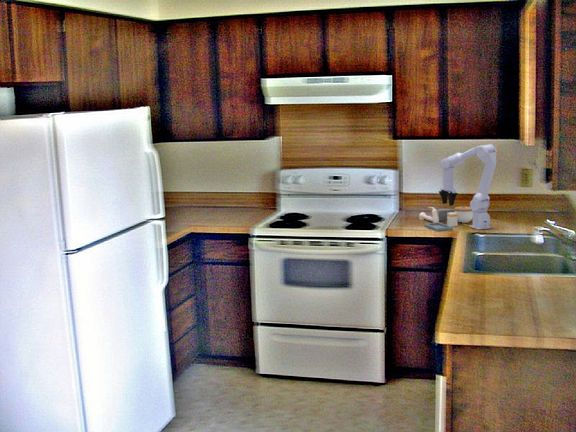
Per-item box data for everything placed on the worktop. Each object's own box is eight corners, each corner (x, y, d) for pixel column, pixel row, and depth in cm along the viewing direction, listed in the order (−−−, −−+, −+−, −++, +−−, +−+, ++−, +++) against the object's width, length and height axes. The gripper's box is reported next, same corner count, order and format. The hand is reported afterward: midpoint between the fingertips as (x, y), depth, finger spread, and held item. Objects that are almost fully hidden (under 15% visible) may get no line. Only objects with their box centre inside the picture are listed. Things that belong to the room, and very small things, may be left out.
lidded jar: (450, 221, 419) (450, 204, 417) (466, 219, 423) (466, 202, 421) (460, 224, 409) (461, 207, 407) (477, 222, 413) (477, 205, 411)
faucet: (425, 227, 429) (422, 210, 431) (440, 221, 413) (437, 204, 414) (419, 227, 428) (416, 210, 429) (434, 222, 412) (431, 204, 413)
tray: (452, 229, 395) (452, 227, 394) (437, 231, 392) (437, 228, 392) (439, 225, 409) (439, 222, 409) (424, 226, 406) (424, 223, 406)
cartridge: (457, 226, 405) (457, 213, 404) (450, 226, 404) (450, 213, 402) (453, 224, 409) (453, 212, 407) (447, 225, 408) (447, 212, 406)
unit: (452, 220, 421) (452, 209, 419) (438, 221, 418) (438, 211, 417) (447, 218, 426) (447, 208, 425) (433, 220, 424) (433, 209, 423)
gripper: (435, 179, 416) (435, 203, 418) (447, 181, 402) (447, 207, 404) (446, 178, 418) (446, 202, 420) (459, 181, 404) (459, 205, 406)
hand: (448, 204), depth 412 cm, fingers open, 7 cm apart
